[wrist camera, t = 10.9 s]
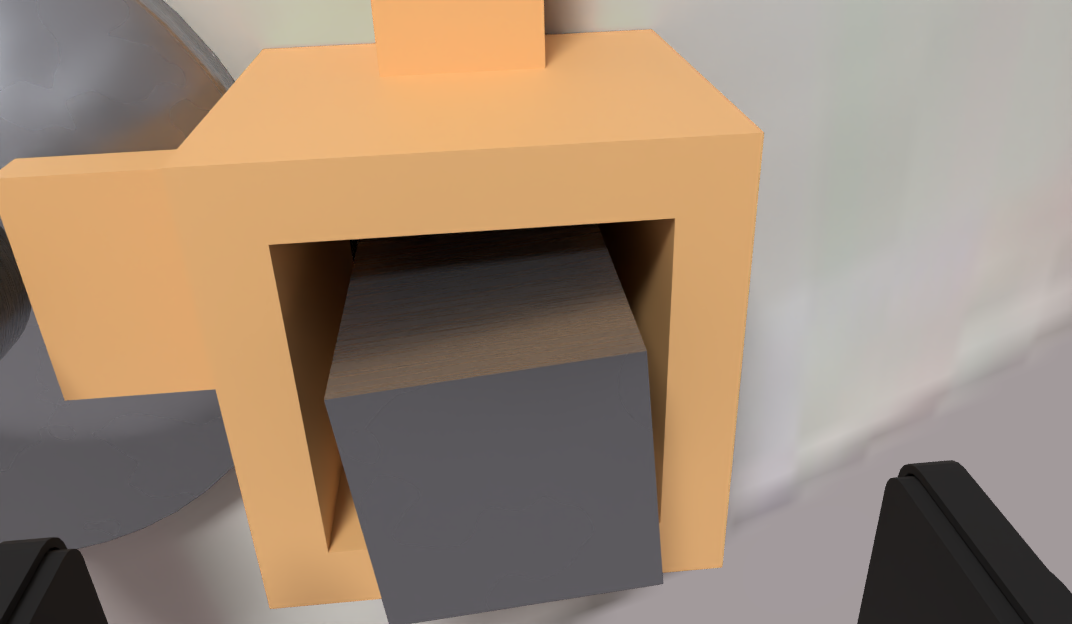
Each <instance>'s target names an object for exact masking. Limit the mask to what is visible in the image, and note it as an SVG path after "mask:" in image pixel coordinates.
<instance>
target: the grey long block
mask: <svg viewBox="0 0 1072 624" xmlns="http://www.w3.org/2000/svg"><path fill="white" fill-rule="evenodd" d="M324 402H325V405H326V409H327V412H328V416H329V419H330V423H331V426H332V430H333V433H334V436H335V440H336V443H337V447H338V450H339V454H340V457H341V460H342V464H343V467H344V471H345V474H346V478H347V481H348V485H349V488H350V491H351V495H352V498H353V502H354V505H355V509H356V512H357V515H358V519H359V522H360V526H361V529H362V533H363V536H364V540H365V543H366V546H367V550H368V553H369V557H370V560H371V564H372V567H373V570H374V574H375V577H376V581H377V584H378V588H379V591H380V595H381V598H382V601H383V605H384V608H385V612H386V615H387V619H388V622H389V624H412V623H418V622H424V621H431V620H437V619H443V618H450V617H456V616H462V615H469V614H475V613H482V612H488V611H494V610H501V609H507V608H513V607H520V606H526V605H532V604H539V603H545V602H551V601H558V600H564V599H570V598H577V597H583V596H590V595H596V594H602V593H609V592H615V591H621V590H628V589H634V588H640V587H647V586H653V585H659V584H663V572H662V558H661V544H660V529H659V515H658V501H657V487H656V472H655V458H654V444H653V430H652V415H651V401H650V387H649V372H648V358H647V350H646V347H645V345H644V342H643V339H642V337H641V334H640V332H639V329H638V327H637V324H636V321H635V319H634V316H633V314H632V311H631V309H630V306H629V303H628V301H627V298H626V296H625V293H624V291H623V288H622V286H621V283H620V280H619V278H618V275H617V273H616V270H615V268H614V265H613V262H612V260H611V257H610V255H609V252H608V250H607V247H606V244H605V242H604V239H603V237H602V234H601V232H600V229H599V227H598V224H597V223H595V224H580V225H564V226H549V227H534V228H518V229H503V230H488V231H472V232H457V233H442V234H426V235H411V236H396V237H380V238H365V239H359V241H358V246H357V251H356V255H355V260H354V264H353V269H352V273H351V278H350V283H349V287H348V292H347V296H346V301H345V306H344V310H343V315H342V319H341V324H340V328H339V333H338V338H337V342H336V347H335V351H334V356H333V361H332V365H331V370H330V374H329V379H328V383H327V388H326V393H325V397H324Z"/></svg>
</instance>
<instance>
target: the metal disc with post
mask: <svg viewBox="0 0 1072 624" xmlns="http://www.w3.org/2000/svg"><path fill="white" fill-rule="evenodd" d="M234 82H235V81H234V80H233V79H232V77H231V76H230V74H229V73H228V72H227V70H226V69H225V67H224V66H223V65H222V63H221V62H220V60H219V59H218V58H217V56H216V55H215V54H214V53H213V52H212V51H211V50H210V49H209V47H208V46H207V45H206V44H205V43H204V42H203V41H202V40H201V39H200V37H199V36H198V35H197V34H196V33H195V32H194V31H193V30H192V29H191V27H190V26H189V25H188V24H187V23H186V22H185V21H184V20H183V19H182V18H181V16H180V15H179V14H178V13H177V12H175V11H174V10H173V9H172V8H171V7H170V6H169V5H168V4H166V3H165V2H164V1H163V0H0V169H2V168H3V167H4V166H6V165H7V164H9V163H10V162H11V161H13V160H14V159H17V158H35V157H52V156H69V155H87V154H104V153H121V152H139V151H156V150H173V149H178V147H179V146H180V145H181V144H182V143H183V142H184V141H185V139H186V138H187V137H188V136H189V135H190V134H191V132H192V131H193V130H194V129H195V128H196V127H197V125H198V124H199V123H200V122H201V121H202V120H203V118H204V117H205V116H206V115H207V114H208V113H209V111H210V110H211V109H212V108H213V107H214V106H215V104H216V103H217V102H218V101H219V100H220V99H221V98H222V96H223V95H224V94H225V93H226V92H227V91H228V89H229V88H230V87H231V86H232V85H233V84H234ZM233 466H234V462H233V458H232V454H231V450H230V446H229V442H228V438H227V434H226V430H225V426H224V422H223V418H222V414H221V410H220V406H219V402H218V398H217V394H216V390H215V389H212V390H199V391H186V392H173V393H159V394H146V395H133V396H120V397H107V398H93V399H80V400H67V401H65V400H64V397H63V394H62V391H61V388H60V385H59V383H58V380H57V377H56V374H55V371H54V368H53V365H52V363H51V360H50V357H49V354H48V351H47V348H46V345H45V343H44V340H43V337H42V334H41V331H40V328H39V325H38V323H37V320H36V317H35V314H34V311H33V308H32V305H31V302H30V300H29V297H28V294H27V291H26V288H25V285H24V282H23V280H22V277H21V274H20V271H19V268H18V265H17V262H16V260H15V257H14V254H13V251H12V248H11V245H10V242H9V240H8V237H7V234H6V231H5V228H4V225H3V222H2V219H1V217H0V543H1V542H3V541H13V540H25V539H37V538H48V537H58V538H60V539H61V540H62V541H63V542H64V543H65V545H66V547H67V549H79V548H83V547H87V546H91V545H95V544H99V543H103V542H107V541H110V540H113V539H116V538H118V537H121V536H124V535H127V534H129V533H132V532H135V531H137V530H140V529H143V528H145V527H147V526H149V525H151V524H153V523H155V522H157V521H159V520H161V519H163V518H165V517H167V516H169V515H171V514H172V513H174V512H176V511H178V510H179V509H181V508H182V507H184V506H185V505H187V504H188V503H190V502H191V501H193V500H194V499H195V498H197V497H198V496H200V495H201V494H203V493H204V492H206V491H207V490H208V489H209V488H210V487H211V486H212V485H214V484H215V483H216V482H217V481H218V480H219V479H220V478H221V477H222V476H223V475H224V474H226V473H227V472H228V471H229V470H230V469H231V468H232V467H233Z"/></svg>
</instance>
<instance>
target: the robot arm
mask: <svg viewBox="0 0 1072 624" xmlns="http://www.w3.org/2000/svg"><path fill="white" fill-rule="evenodd" d="M0 624H108V622H107V620H106V617H105V614H104V612H103V609H102V606H101V604H100V601H99V598H98V596H97V593H96V590H95V588H94V585H93V582H92V580H91V577H90V574H89V572H88V569H87V566H86V564H85V561H84V558H83V556H82V554H81V553H80V551H78V550H77V549H67V547H66V545H65V543H64V542H63V541H62V540H61V539H60V538H58V537H48V538H37V539H25V540H13V541H3V542H1V543H0ZM857 624H1072V593H1071V592H1070V591H1069V590H1068V589H1067V587H1066V586H1065V585H1064V584H1063V583H1062V582H1061V581H1060V580H1059V579H1058V578H1057V577H1056V576H1055V575H1054V574H1052V573H1051V572H1050V571H1049V570H1048V569H1047V568H1046V566H1045V565H1044V564H1043V563H1042V561H1041V560H1040V559H1039V558H1038V557H1037V555H1036V554H1035V553H1034V552H1033V551H1032V549H1031V548H1030V547H1029V546H1028V544H1027V543H1026V542H1025V541H1024V540H1023V539H1022V537H1021V536H1020V535H1019V534H1018V532H1017V531H1016V530H1015V529H1014V528H1013V526H1012V525H1011V524H1010V523H1009V521H1008V520H1007V519H1006V518H1005V517H1004V515H1003V514H1002V513H1001V512H1000V511H999V509H998V508H997V507H996V506H995V505H994V503H993V502H992V501H991V500H990V498H989V497H988V496H987V495H986V494H985V492H984V491H983V490H982V489H981V488H980V486H979V485H978V484H977V483H976V481H975V480H974V479H973V478H972V477H971V475H970V474H969V473H968V472H967V471H966V469H965V468H964V467H963V466H961V465H960V464H959V463H958V462H955V461H952V460H951V461H939V462H928V463H916V464H908V465H904V466H903V467H902V468H901V470H900V472H899V475H898V477H896V478H890V479H889V481H888V482H887V484H886V487H885V491H884V496H883V501H882V507H881V511H880V516H879V521H878V526H877V531H876V535H875V540H874V546H873V550H872V555H871V560H870V564H869V569H868V574H867V579H866V584H865V589H864V594H863V599H862V604H861V608H860V613H859V618H858V623H857Z"/></svg>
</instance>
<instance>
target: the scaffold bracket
mask: <svg viewBox="0 0 1072 624" xmlns="http://www.w3.org/2000/svg"><path fill="white" fill-rule="evenodd" d="M371 7H372V15H373V24H374V32H375V41H376V43H373V44H353V45H333V46H314V47H294V48H274V49H263V50H262V51H261V52H260V53H259V55H258V56H257V57H256V58H255V59H254V60H253V62H252V63H251V64H250V65H249V66H248V67H247V68H246V70H245V71H244V72H243V73H242V74H241V75H240V77H239V78H238V79H237V80H236V81H235V82H234V84H233V85H232V86H231V87H230V88H229V89H228V91H227V92H226V93H225V94H224V95H223V96H222V98H221V99H220V100H219V101H218V102H217V103H216V104H215V106H214V107H213V108H212V109H211V110H210V111H209V113H208V114H207V115H206V116H205V117H204V118H203V120H202V121H201V122H200V123H199V124H198V125H197V127H196V128H195V129H194V130H193V131H192V132H191V134H190V135H189V136H188V137H187V138H186V139H185V141H184V142H183V143H182V144H181V145H180V146H179V147H178V149H173V150H156V151H139V152H121V153H104V154H87V155H69V156H52V157H35V158H17V159H14V160H13V161H11V162H10V163H9V164H7V165H6V166H4V167H3V168H2V169H0V217H1V219H2V222H3V225H4V228H5V231H6V234H7V237H8V240H9V242H10V245H11V248H12V251H13V254H14V257H15V260H16V262H17V265H18V268H19V271H20V274H21V277H22V280H23V282H24V285H25V288H26V291H27V294H28V297H29V300H30V302H31V305H32V308H33V311H34V314H35V317H36V320H37V323H38V325H39V328H40V331H41V334H42V337H43V340H44V343H45V345H46V348H47V351H48V354H49V357H50V360H51V363H52V365H53V368H54V371H55V374H56V377H57V380H58V383H59V385H60V388H61V391H62V394H63V397H64V400H65V401H67V400H80V399H93V398H107V397H120V396H133V395H146V394H159V393H173V392H186V391H199V390H212V389H215V390H216V394H217V398H218V402H219V406H220V410H221V414H222V418H223V422H224V426H225V430H226V434H227V438H228V442H229V446H230V450H231V454H232V458H233V462H234V466H235V470H236V474H237V478H238V482H239V486H240V490H241V494H242V498H243V502H244V507H245V511H246V515H247V519H248V523H249V527H250V531H251V535H252V539H253V543H254V547H255V551H256V555H257V559H258V563H259V567H260V571H261V575H262V579H263V583H264V587H265V591H266V595H267V599H268V603H269V607H270V609H275V608H286V607H297V606H308V605H319V604H329V603H340V602H351V601H362V600H373V599H382V598H381V595H380V591H379V588H378V584H377V581H376V577H375V574H374V570H373V567H372V564H371V560H370V557H369V553H368V550H367V546H366V543H365V540H364V536H363V533H362V529H361V526H360V522H359V519H358V515H357V512H356V509H355V505H354V502H353V498H352V495H351V491H350V488H349V485H348V481H347V478H346V474H345V471H344V467H343V464H342V460H341V457H340V454H339V450H338V447H337V443H336V440H335V436H334V433H333V430H332V426H331V423H330V419H329V416H328V412H327V409H326V405H325V402H324V397H325V393H326V388H327V383H328V379H329V374H330V370H331V365H332V361H333V356H334V351H335V347H336V342H337V338H338V333H339V328H340V324H341V319H342V315H343V310H344V306H345V301H346V296H347V292H348V287H349V283H350V278H351V273H352V269H353V259H352V252H351V245H350V239H365V238H380V237H396V236H411V235H426V234H442V233H457V232H472V231H488V230H503V229H518V228H534V227H549V226H564V225H580V224H595V223H597V224H598V227H599V229H600V232H601V234H602V237H603V239H604V242H605V244H606V247H607V250H608V252H609V255H610V257H611V260H612V262H613V265H614V268H615V270H616V273H617V275H618V278H619V280H620V283H621V286H622V288H623V291H624V293H625V296H626V298H627V301H628V303H629V306H630V309H631V311H632V314H633V316H634V319H635V321H636V324H637V327H638V329H639V332H640V334H641V337H642V339H643V342H644V345H645V347H646V350H647V358H648V372H649V387H650V401H651V415H652V430H653V444H654V458H655V472H656V487H657V501H658V515H659V529H660V544H661V558H662V572H663V573H666V572H677V571H688V570H699V569H708V568H709V569H710V568H721V567H722V565H723V555H724V544H725V534H726V524H727V513H728V503H729V492H730V482H731V472H732V461H733V451H734V440H735V430H736V420H737V409H738V399H739V388H740V378H741V368H742V357H743V347H744V336H745V326H746V316H747V305H748V295H749V284H750V274H751V264H752V253H753V243H754V232H755V222H756V212H757V201H758V191H759V180H760V170H761V160H762V149H763V139H764V132H763V131H762V130H761V129H760V128H759V127H757V126H756V125H755V124H754V123H753V122H752V121H751V120H750V119H749V118H748V117H747V116H746V115H744V114H743V113H742V112H741V111H740V110H739V109H738V108H737V107H736V106H735V105H734V104H733V103H731V102H730V101H729V100H728V99H727V98H726V97H725V96H724V95H723V94H722V93H721V92H719V91H718V90H717V89H716V88H715V87H714V86H713V85H712V84H711V83H710V82H709V81H708V80H706V79H705V78H704V77H703V76H702V75H701V74H700V73H699V72H698V71H697V70H696V69H695V68H693V67H692V66H691V65H690V64H689V63H688V62H687V61H686V60H685V59H684V58H683V57H682V56H680V55H679V54H678V53H677V52H676V51H675V50H674V49H673V48H672V47H671V46H670V45H668V44H667V43H666V42H665V41H664V40H663V39H662V38H661V37H660V36H659V35H658V34H657V33H655V32H654V31H653V30H652V29H649V30H629V31H610V32H590V33H570V34H550V35H545V31H544V0H371Z"/></svg>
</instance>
